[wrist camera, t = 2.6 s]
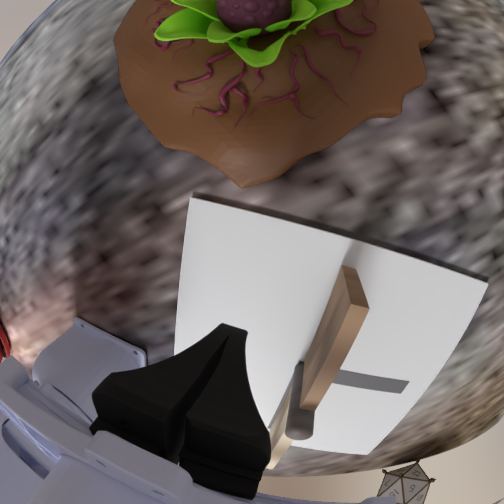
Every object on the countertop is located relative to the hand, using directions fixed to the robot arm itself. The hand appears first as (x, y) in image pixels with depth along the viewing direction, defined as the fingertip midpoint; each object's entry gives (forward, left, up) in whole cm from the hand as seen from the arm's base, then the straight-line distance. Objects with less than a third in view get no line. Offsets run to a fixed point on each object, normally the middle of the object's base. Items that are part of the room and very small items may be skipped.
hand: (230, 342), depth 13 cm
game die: (+25, -22, -7) cm, 34 cm away
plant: (-3, +17, -7) cm, 19 cm away
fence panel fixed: (+5, -10, -6) cm, 13 cm away
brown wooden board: (+5, -1, -6) cm, 8 cm away
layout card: (+6, -7, -7) cm, 11 cm away
